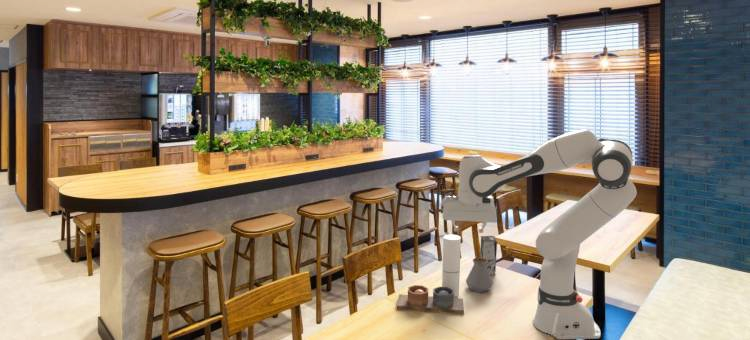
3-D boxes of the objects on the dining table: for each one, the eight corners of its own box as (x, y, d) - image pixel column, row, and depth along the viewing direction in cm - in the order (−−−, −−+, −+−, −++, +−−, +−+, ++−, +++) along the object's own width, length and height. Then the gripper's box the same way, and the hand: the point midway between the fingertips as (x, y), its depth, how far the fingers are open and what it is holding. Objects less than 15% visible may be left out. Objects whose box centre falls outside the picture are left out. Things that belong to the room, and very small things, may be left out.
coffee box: (495, 275, 209) (497, 241, 207) (481, 274, 210) (483, 241, 207) (492, 267, 218) (494, 235, 215) (479, 267, 219) (480, 235, 216)
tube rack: (463, 302, 182) (463, 287, 181) (463, 314, 173) (464, 298, 172) (399, 297, 186) (399, 283, 185) (396, 309, 177) (396, 293, 176)
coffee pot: (472, 295, 189) (473, 261, 186) (461, 283, 200) (462, 251, 197) (518, 290, 193) (520, 257, 190) (506, 280, 204) (507, 248, 201)
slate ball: (449, 301, 181) (450, 289, 180) (449, 306, 176) (450, 294, 175) (437, 299, 181) (437, 287, 181) (436, 304, 176) (437, 292, 176)
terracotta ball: (424, 299, 182) (427, 288, 181) (423, 306, 177) (426, 295, 176) (412, 296, 183) (415, 285, 181) (411, 302, 178) (414, 291, 176)
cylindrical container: (458, 290, 193) (460, 234, 189) (459, 297, 186) (461, 240, 182) (441, 289, 194) (442, 234, 190) (442, 297, 187) (443, 239, 183)
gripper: (442, 197, 169) (441, 232, 172) (497, 199, 166) (496, 235, 168) (442, 194, 175) (441, 228, 178) (496, 195, 172) (494, 230, 175)
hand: (468, 231), depth 173 cm, fingers open, 8 cm apart
